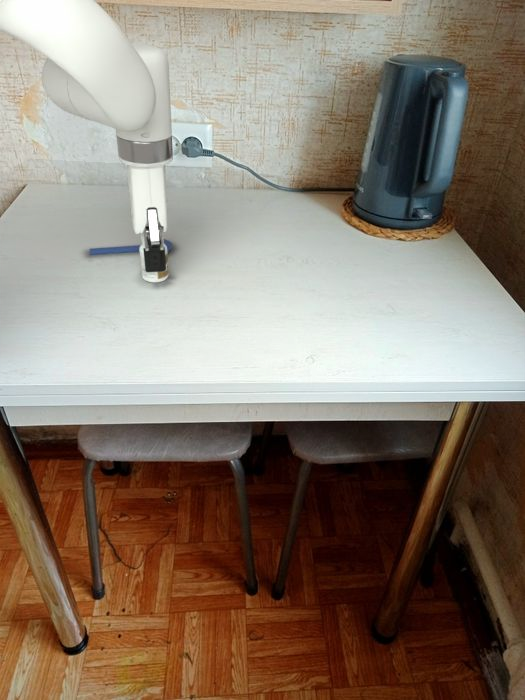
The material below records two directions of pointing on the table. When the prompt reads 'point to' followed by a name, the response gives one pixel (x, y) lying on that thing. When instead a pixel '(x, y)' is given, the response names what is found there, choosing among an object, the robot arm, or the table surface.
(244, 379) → the table surface
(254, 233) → the table surface
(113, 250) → the spoon
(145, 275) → the pill bottle
